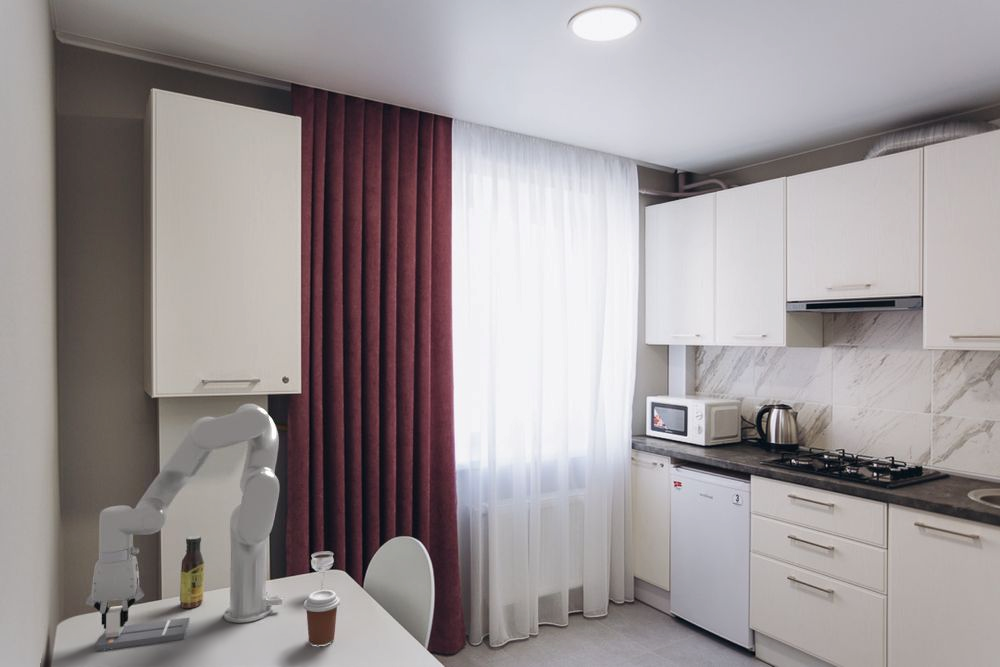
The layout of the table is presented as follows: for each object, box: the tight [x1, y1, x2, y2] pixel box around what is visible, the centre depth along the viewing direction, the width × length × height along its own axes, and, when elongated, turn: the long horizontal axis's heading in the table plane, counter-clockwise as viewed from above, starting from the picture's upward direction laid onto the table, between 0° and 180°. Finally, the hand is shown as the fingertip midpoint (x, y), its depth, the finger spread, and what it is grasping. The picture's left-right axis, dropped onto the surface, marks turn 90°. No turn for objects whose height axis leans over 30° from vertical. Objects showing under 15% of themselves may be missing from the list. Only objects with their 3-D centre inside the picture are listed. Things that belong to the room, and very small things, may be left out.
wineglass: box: [310, 550, 335, 590], centre depth 192 cm, size 7×7×12 cm
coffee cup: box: [303, 589, 341, 646], centre depth 161 cm, size 9×9×12 cm
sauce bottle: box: [179, 535, 205, 609], centre depth 184 cm, size 7×6×20 cm
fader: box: [105, 605, 125, 638], centre depth 161 cm, size 3×5×6 cm, turn 19°
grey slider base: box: [95, 617, 191, 652], centre depth 164 cm, size 20×10×2 cm, turn 109°
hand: (114, 625), depth 161 cm, fingers closed on fader, 3 cm apart
